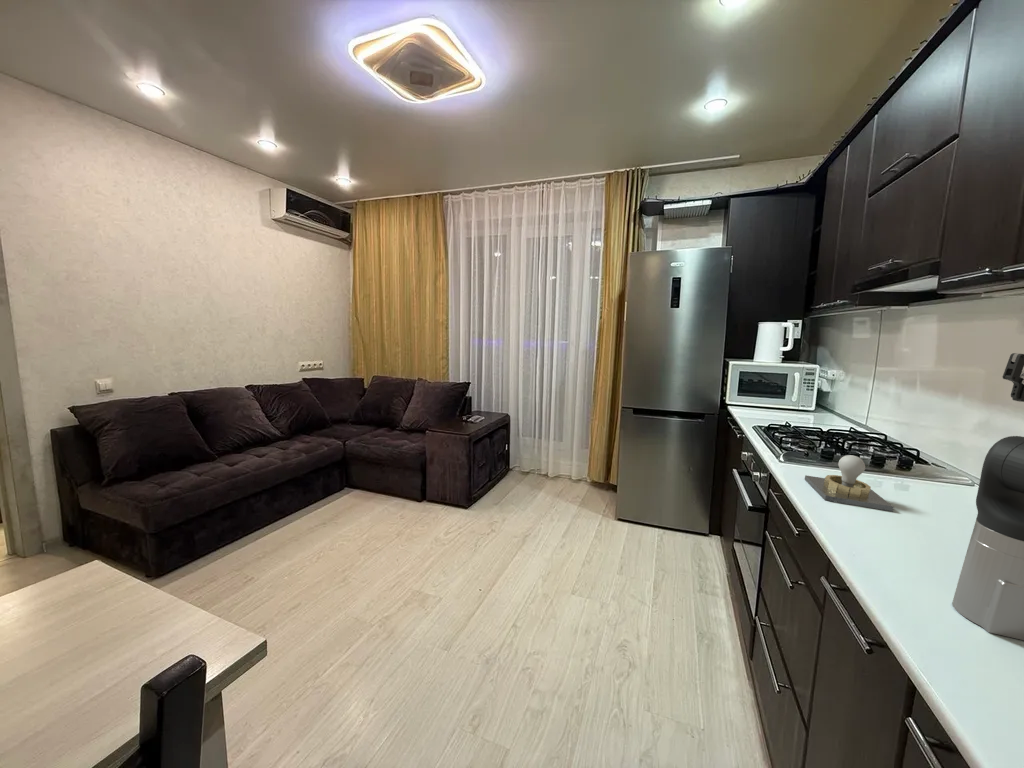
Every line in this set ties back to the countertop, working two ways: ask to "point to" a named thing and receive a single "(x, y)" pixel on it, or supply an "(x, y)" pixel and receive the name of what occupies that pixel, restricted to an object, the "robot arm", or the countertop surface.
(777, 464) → the countertop surface
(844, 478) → the lightbulb
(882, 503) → the lamp socket
